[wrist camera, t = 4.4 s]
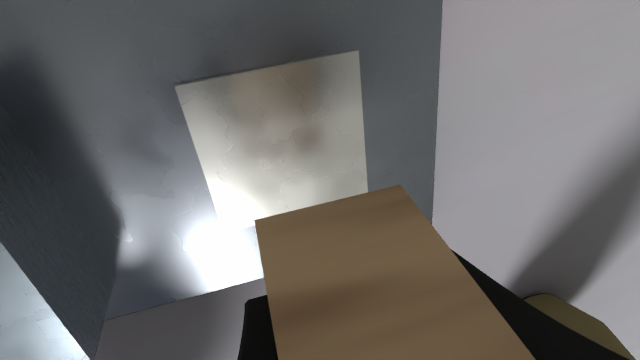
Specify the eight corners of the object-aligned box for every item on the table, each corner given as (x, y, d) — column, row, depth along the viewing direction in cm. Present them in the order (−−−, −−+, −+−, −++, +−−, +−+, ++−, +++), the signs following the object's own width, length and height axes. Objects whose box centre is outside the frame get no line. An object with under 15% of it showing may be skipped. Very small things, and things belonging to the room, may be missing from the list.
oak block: (400, 284, 14) (514, 491, 9) (280, 318, 14) (328, 561, 9) (400, 184, 12) (557, 388, 7) (254, 219, 11) (299, 477, 6)
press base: (421, 218, 22) (472, 285, 18) (-82, 352, 19) (-166, 474, 15) (429, -70, 15) (521, -71, 11) (-417, 62, 11) (-801, 140, 7)
